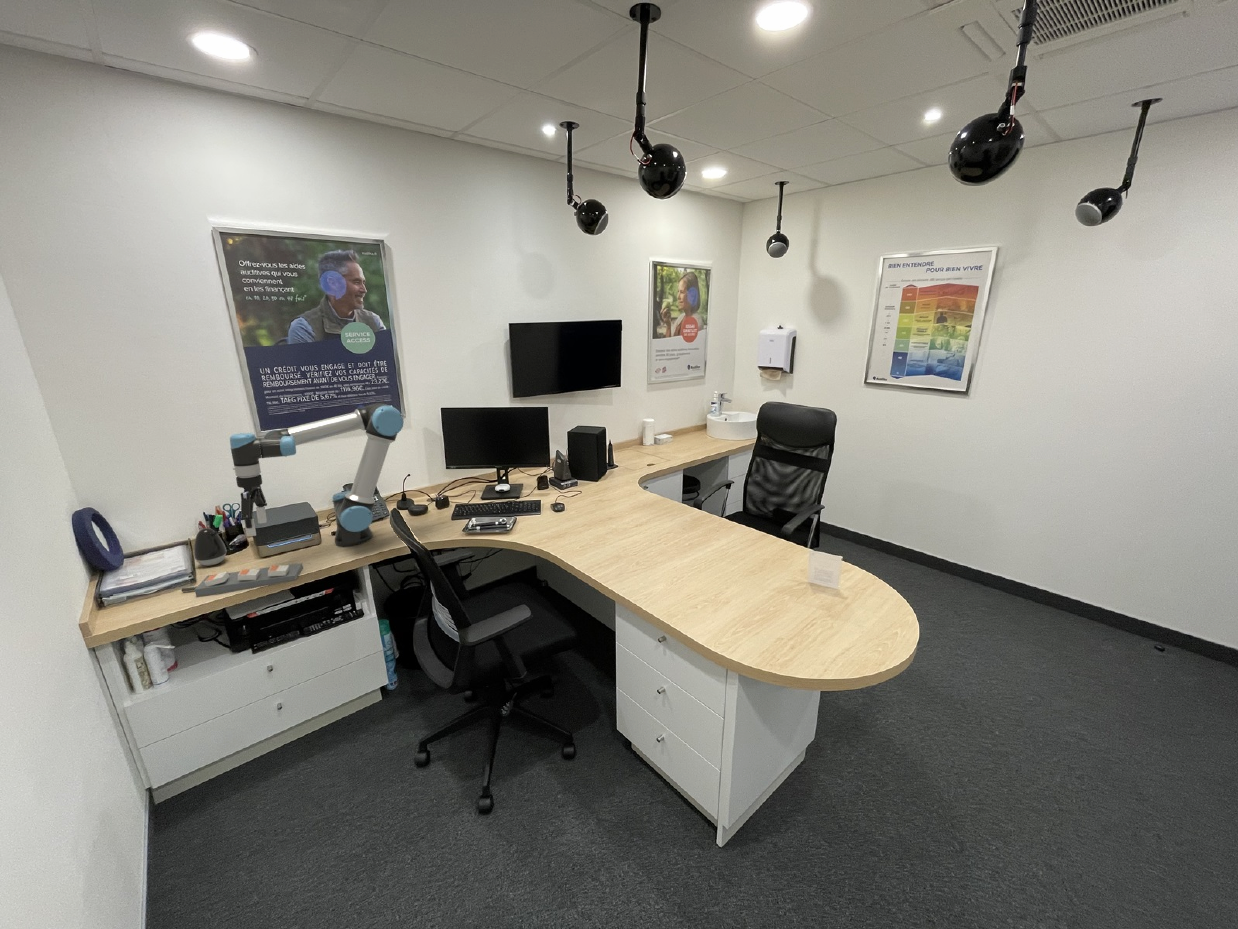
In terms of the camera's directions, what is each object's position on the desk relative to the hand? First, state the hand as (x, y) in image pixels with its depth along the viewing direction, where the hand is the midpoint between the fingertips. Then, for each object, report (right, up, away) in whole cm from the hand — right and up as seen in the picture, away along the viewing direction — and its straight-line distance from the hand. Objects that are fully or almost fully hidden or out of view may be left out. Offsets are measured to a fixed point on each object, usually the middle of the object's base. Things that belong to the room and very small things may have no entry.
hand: (257, 529), depth 186 cm
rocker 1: (-10, -18, -6) cm, 22 cm away
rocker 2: (-1, -18, -3) cm, 18 cm away
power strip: (-4, -21, -1) cm, 21 cm away
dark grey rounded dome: (-30, -16, +16) cm, 37 cm away
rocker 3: (+8, -17, 0) cm, 19 cm away
